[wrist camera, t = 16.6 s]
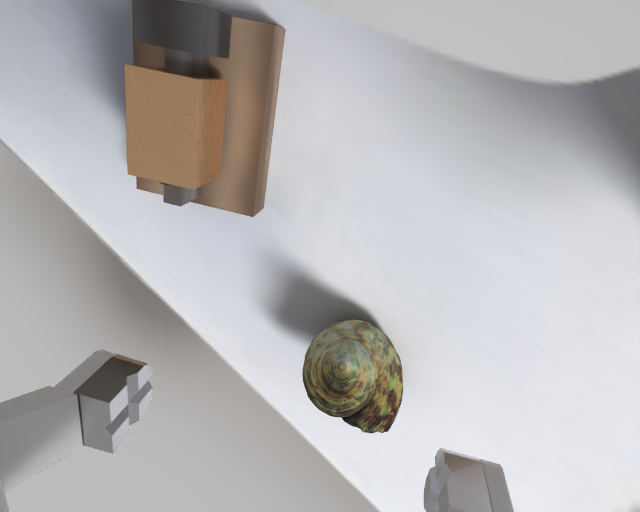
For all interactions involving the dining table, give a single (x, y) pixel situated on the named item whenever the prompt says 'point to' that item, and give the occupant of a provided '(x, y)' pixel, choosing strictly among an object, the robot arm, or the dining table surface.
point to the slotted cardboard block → (174, 125)
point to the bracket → (241, 95)
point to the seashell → (355, 375)
